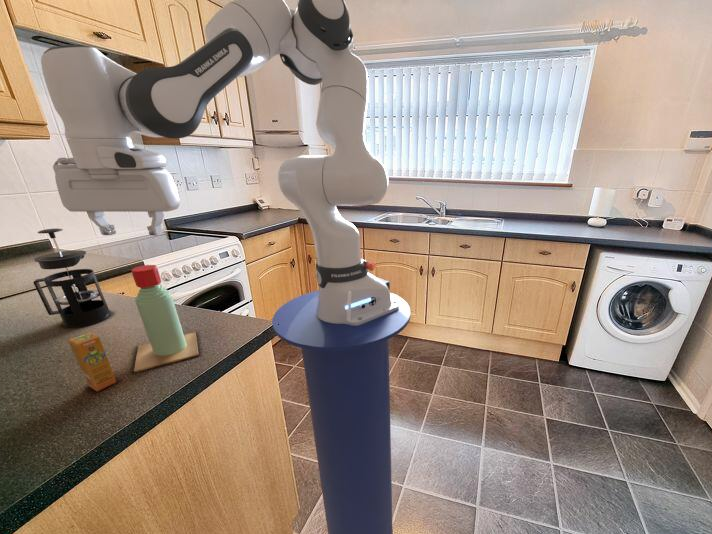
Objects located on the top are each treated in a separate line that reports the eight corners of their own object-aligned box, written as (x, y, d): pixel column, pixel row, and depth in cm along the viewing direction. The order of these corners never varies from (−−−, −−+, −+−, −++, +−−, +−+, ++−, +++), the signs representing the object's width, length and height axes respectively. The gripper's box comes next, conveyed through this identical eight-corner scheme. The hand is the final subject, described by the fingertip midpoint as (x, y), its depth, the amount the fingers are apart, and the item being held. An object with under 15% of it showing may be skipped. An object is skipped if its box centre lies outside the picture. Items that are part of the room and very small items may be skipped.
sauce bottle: (186, 338, 76) (163, 264, 69) (187, 350, 71) (163, 272, 64) (154, 346, 73) (127, 269, 66) (153, 359, 68) (124, 278, 61)
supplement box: (97, 392, 60) (74, 344, 56) (88, 386, 61) (66, 339, 57) (118, 382, 62) (98, 335, 58) (109, 376, 64) (90, 330, 60)
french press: (117, 307, 92) (85, 223, 83) (110, 321, 85) (74, 230, 75) (61, 317, 87) (19, 228, 78) (48, 332, 79) (1, 236, 70)
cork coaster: (195, 333, 79) (195, 332, 79) (198, 355, 70) (198, 354, 70) (138, 346, 74) (138, 345, 73) (134, 372, 65) (133, 370, 65)
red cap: (135, 289, 64) (130, 272, 62) (137, 282, 67) (132, 267, 65) (160, 285, 66) (155, 269, 64) (161, 279, 69) (156, 263, 67)
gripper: (31, 158, 57) (66, 238, 63) (149, 157, 56) (172, 239, 62) (66, 157, 63) (95, 230, 68) (173, 156, 62) (193, 231, 68)
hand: (133, 234), depth 65 cm, fingers open, 8 cm apart
